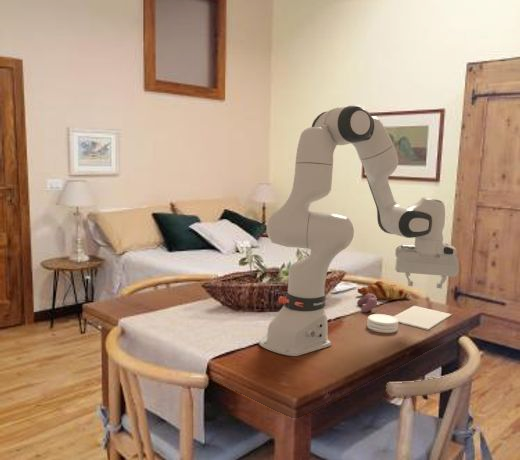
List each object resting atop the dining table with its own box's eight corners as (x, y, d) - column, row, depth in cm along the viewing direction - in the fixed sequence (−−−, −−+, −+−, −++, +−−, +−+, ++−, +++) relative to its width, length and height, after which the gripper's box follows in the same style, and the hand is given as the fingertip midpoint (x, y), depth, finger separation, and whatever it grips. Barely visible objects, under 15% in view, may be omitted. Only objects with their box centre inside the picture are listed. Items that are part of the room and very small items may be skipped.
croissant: (407, 305, 210) (407, 286, 212) (414, 300, 200) (413, 280, 203) (355, 301, 210) (355, 282, 213) (360, 296, 201) (360, 276, 203)
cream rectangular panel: (428, 330, 169) (428, 328, 169) (388, 320, 178) (388, 318, 178) (451, 315, 186) (451, 314, 186) (414, 307, 195) (414, 305, 195)
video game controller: (371, 317, 185) (381, 301, 184) (360, 311, 185) (370, 295, 184) (365, 309, 195) (375, 293, 194) (355, 303, 195) (365, 287, 194)
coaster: (398, 325, 173) (399, 315, 172) (397, 335, 164) (397, 324, 163) (368, 321, 176) (369, 311, 175) (365, 331, 167) (366, 320, 166)
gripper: (397, 246, 169) (393, 286, 171) (462, 250, 166) (457, 291, 168) (395, 242, 175) (392, 282, 177) (457, 247, 172) (453, 287, 174)
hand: (424, 287), depth 173 cm, fingers open, 8 cm apart
